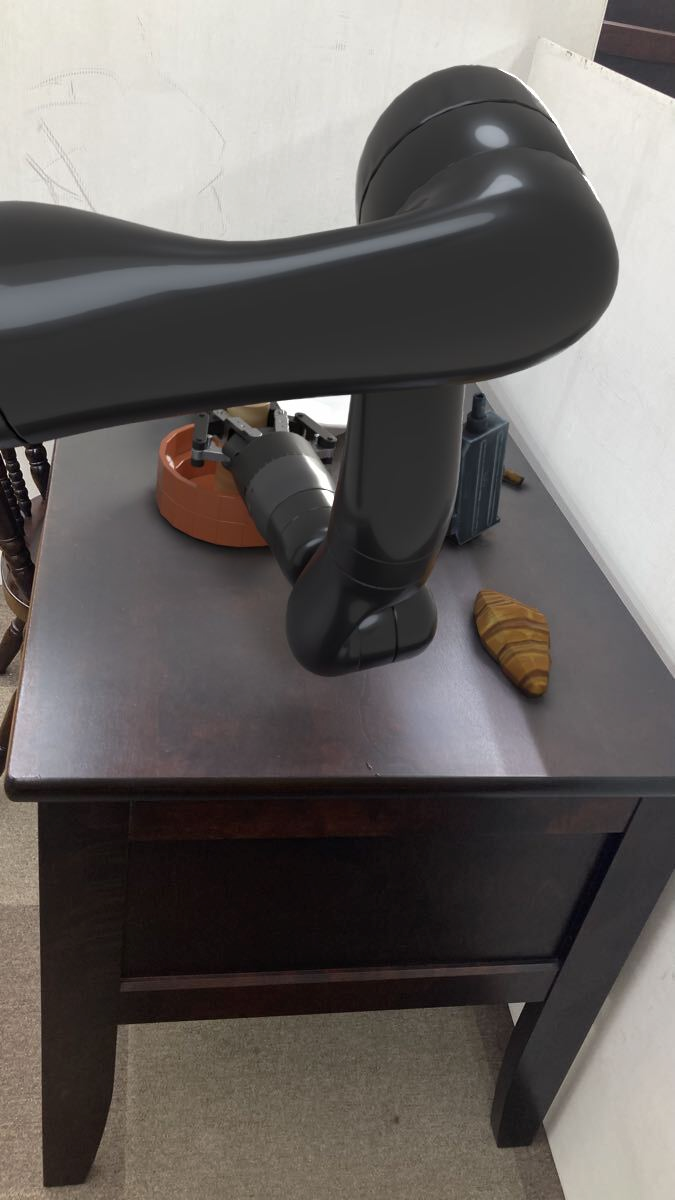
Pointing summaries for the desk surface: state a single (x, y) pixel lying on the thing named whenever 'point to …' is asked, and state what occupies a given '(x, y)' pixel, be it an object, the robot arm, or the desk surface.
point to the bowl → (322, 411)
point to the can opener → (513, 477)
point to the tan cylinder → (254, 418)
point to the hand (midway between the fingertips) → (237, 402)
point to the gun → (479, 472)
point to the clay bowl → (199, 496)
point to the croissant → (515, 640)
